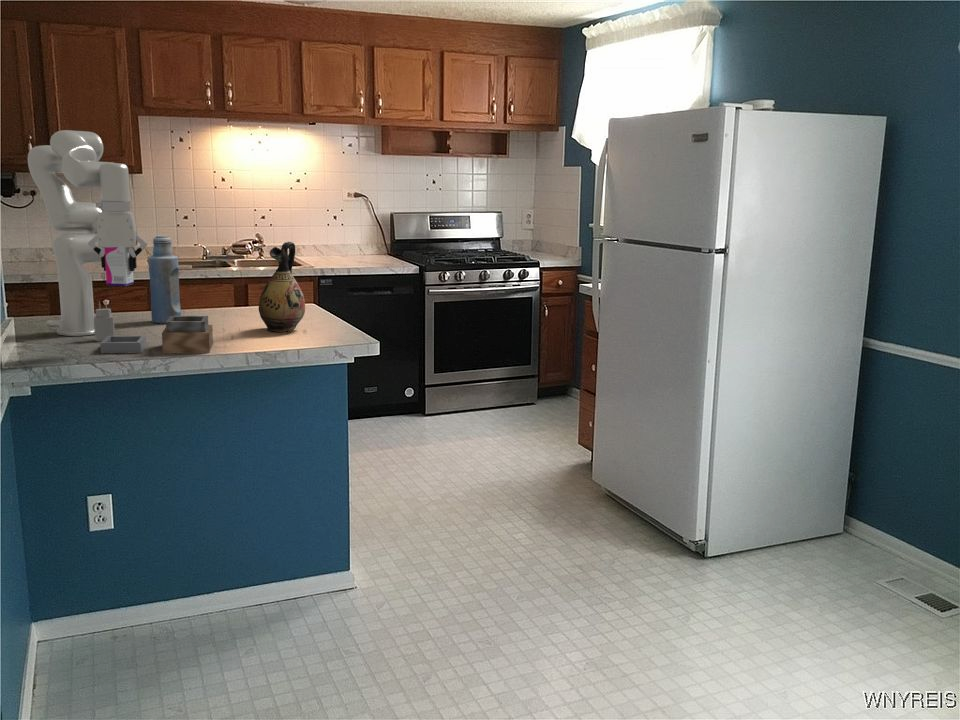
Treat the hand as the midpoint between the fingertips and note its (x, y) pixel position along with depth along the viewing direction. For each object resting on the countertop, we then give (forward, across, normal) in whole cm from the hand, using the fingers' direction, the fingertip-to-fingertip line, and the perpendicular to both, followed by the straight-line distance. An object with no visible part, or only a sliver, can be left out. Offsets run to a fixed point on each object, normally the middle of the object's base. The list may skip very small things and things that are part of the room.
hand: (119, 270), depth 236 cm
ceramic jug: (+24, +46, +30) cm, 60 cm away
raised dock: (+23, +18, 0) cm, 30 cm away
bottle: (+24, +6, +47) cm, 53 cm away
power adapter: (+24, -8, +15) cm, 29 cm away
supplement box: (+4, 0, 0) cm, 4 cm away
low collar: (+23, 0, 0) cm, 23 cm away
